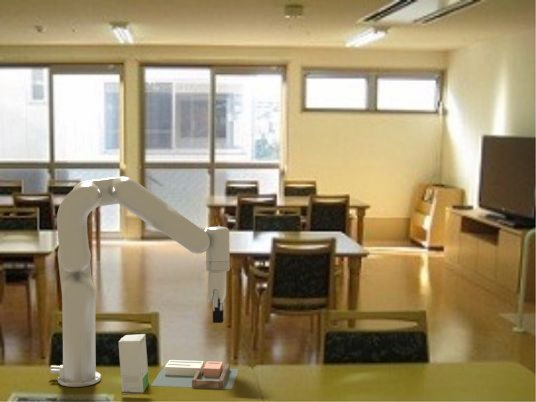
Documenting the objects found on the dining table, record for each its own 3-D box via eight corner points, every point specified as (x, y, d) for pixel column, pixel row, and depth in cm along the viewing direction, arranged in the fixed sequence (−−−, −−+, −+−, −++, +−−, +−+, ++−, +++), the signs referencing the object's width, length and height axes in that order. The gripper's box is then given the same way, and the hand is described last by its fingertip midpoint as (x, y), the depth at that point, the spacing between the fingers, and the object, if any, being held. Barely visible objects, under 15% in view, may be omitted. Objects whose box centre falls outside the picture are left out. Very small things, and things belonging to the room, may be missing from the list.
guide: (192, 386, 204) (192, 380, 203) (201, 368, 220) (201, 362, 220) (222, 387, 203) (222, 381, 203) (229, 369, 219) (229, 363, 219)
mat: (150, 389, 204) (150, 385, 204) (163, 369, 222) (163, 366, 222) (232, 392, 202) (232, 388, 202) (238, 372, 220) (238, 368, 220)
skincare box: (142, 394, 198) (139, 341, 197) (120, 395, 199) (116, 341, 198) (149, 384, 207) (146, 333, 206) (127, 385, 207) (124, 333, 206)
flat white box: (164, 374, 214) (164, 366, 214) (169, 367, 221) (169, 359, 221) (200, 376, 213) (200, 367, 213) (203, 368, 220) (203, 360, 220)
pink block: (203, 376, 213) (203, 367, 213) (206, 368, 220) (207, 360, 220) (219, 376, 213) (219, 368, 212) (222, 369, 220) (222, 361, 219)
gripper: (209, 261, 229) (210, 316, 230) (202, 269, 214) (202, 328, 216) (232, 261, 228) (232, 316, 230) (226, 270, 214) (226, 328, 215)
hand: (218, 322), depth 223 cm, fingers closed
